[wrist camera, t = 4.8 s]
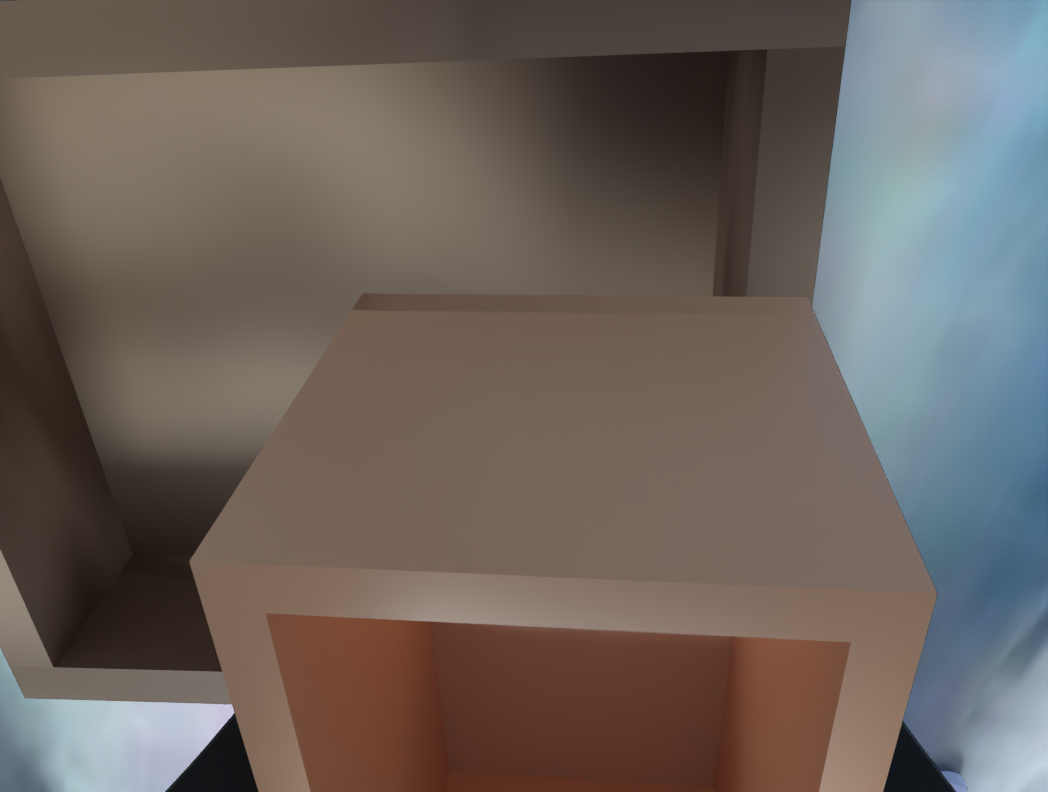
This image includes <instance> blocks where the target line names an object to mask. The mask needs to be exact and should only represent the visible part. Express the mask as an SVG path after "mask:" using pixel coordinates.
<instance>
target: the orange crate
mask: <svg viewBox="0 0 1048 792" xmlns="http://www.w3.org/2000/svg"><path fill="white" fill-rule="evenodd" d="M189 562H190V566H191V569H192V572H193V576H194V579H195V582H196V586H197V589H198V592H199V596H200V599H201V602H202V606H203V609H204V612H205V616H206V619H207V622H208V626H209V629H210V632H211V636H212V639H213V642H214V646H215V649H216V652H217V656H218V659H219V662H220V665H221V669H222V672H223V675H224V679H225V682H226V685H227V689H228V692H229V695H230V699H231V702H232V705H233V709H234V712H235V715H236V719H237V722H238V725H239V729H240V732H241V735H242V739H243V742H244V745H245V749H246V752H247V755H248V759H249V762H250V765H251V768H252V772H253V775H254V778H255V782H256V785H257V788H258V792H883V791H884V787H885V783H886V780H887V776H888V772H889V769H890V765H891V761H892V758H893V754H894V750H895V747H896V743H897V739H898V736H899V732H900V729H901V725H902V721H903V718H904V714H905V710H906V707H907V703H908V699H909V696H910V692H911V688H912V685H913V681H914V678H915V674H916V670H917V667H918V663H919V659H920V656H921V652H922V648H923V645H924V641H925V637H926V634H927V630H928V627H929V623H930V619H931V616H932V612H933V608H934V605H935V601H936V597H937V591H936V589H935V587H934V585H933V582H932V580H931V578H930V575H929V573H928V571H927V569H926V566H925V564H924V562H923V559H922V557H921V555H920V553H919V550H918V548H917V546H916V543H915V541H914V539H913V537H912V534H911V532H910V530H909V527H908V525H907V523H906V521H905V518H904V516H903V514H902V511H901V509H900V507H899V505H898V502H897V500H896V498H895V495H894V493H893V491H892V489H891V486H890V484H889V482H888V479H887V477H886V475H885V473H884V470H883V468H882V466H881V464H880V461H879V459H878V457H877V454H876V452H875V450H874V448H873V445H872V443H871V441H870V438H869V436H868V434H867V432H866V429H865V427H864V425H863V422H862V420H861V418H860V416H859V413H858V411H857V409H856V406H855V404H854V402H853V400H852V397H851V395H850V393H849V390H848V388H847V386H846V384H845V381H844V379H843V377H842V374H841V372H840V370H839V368H838V365H837V363H836V361H835V359H834V356H833V354H832V352H831V349H830V347H829V345H828V343H827V340H826V338H825V336H824V333H823V331H822V329H821V327H820V324H819V322H818V320H817V317H816V315H815V313H814V311H813V308H812V306H811V304H810V301H809V299H808V297H717V296H600V295H483V294H366V293H363V294H362V295H361V297H360V298H359V300H358V301H357V303H356V304H355V306H354V308H353V309H352V311H351V312H350V314H349V315H348V317H347V318H346V320H345V321H344V323H343V325H342V326H341V328H340V329H339V331H338V332H337V334H336V335H335V337H334V338H333V340H332V342H331V343H330V345H329V346H328V348H327V349H326V351H325V352H324V354H323V355H322V357H321V359H320V360H319V362H318V363H317V365H316V366H315V368H314V369H313V371H312V372H311V374H310V376H309V377H308V379H307V380H306V382H305V383H304V385H303V386H302V388H301V389H300V391H299V393H298V394H297V396H296V397H295V399H294V400H293V402H292V403H291V405H290V406H289V408H288V410H287V411H286V413H285V414H284V416H283V417H282V419H281V420H280V422H279V423H278V425H277V427H276V428H275V430H274V431H273V433H272V434H271V436H270V437H269V439H268V440H267V442H266V444H265V445H264V447H263V448H262V450H261V451H260V453H259V454H258V456H257V457H256V459H255V460H254V462H253V464H252V465H251V467H250V468H249V470H248V471H247V473H246V474H245V476H244V477H243V479H242V481H241V482H240V484H239V485H238V487H237V488H236V490H235V491H234V493H233V494H232V496H231V498H230V499H229V501H228V502H227V504H226V505H225V507H224V508H223V510H222V511H221V513H220V515H219V516H218V518H217V519H216V521H215V522H214V524H213V525H212V527H211V528H210V530H209V532H208V533H207V535H206V536H205V538H204V539H203V541H202V542H201V544H200V545H199V547H198V549H197V550H196V552H195V553H194V555H193V556H192V558H191V559H190V561H189Z"/></svg>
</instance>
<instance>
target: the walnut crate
mask: <svg viewBox="0 0 1048 792" xmlns="http://www.w3.org/2000/svg"><path fill="white" fill-rule="evenodd" d="M850 7H851V0H0V648H1V650H2V652H3V654H4V656H5V658H6V660H7V662H8V664H9V666H10V668H11V670H12V672H13V674H14V677H15V679H16V681H17V683H18V685H19V687H20V689H21V691H22V693H23V695H24V697H25V698H38V699H72V700H106V701H139V702H173V703H207V704H232V702H231V699H230V695H229V692H228V689H227V685H226V682H225V679H224V675H223V672H222V669H221V665H220V662H219V659H218V656H217V652H216V649H215V646H214V642H213V639H212V636H211V632H210V629H209V626H208V622H207V619H206V616H205V612H204V609H203V606H202V602H201V599H200V596H199V592H198V589H197V586H196V582H195V579H194V576H193V572H192V569H191V566H190V562H189V561H190V559H191V558H192V556H193V555H194V553H195V552H196V550H197V549H198V547H199V545H200V544H201V542H202V541H203V539H204V538H205V536H206V535H207V533H208V532H209V530H210V528H211V527H212V525H213V524H214V522H215V521H216V519H217V518H218V516H219V515H220V513H221V511H222V510H223V508H224V507H225V505H226V504H227V502H228V501H229V499H230V498H231V496H232V494H233V493H234V491H235V490H236V488H237V487H238V485H239V484H240V482H241V481H242V479H243V477H244V476H245V474H246V473H247V471H248V470H249V468H250V467H251V465H252V464H253V462H254V460H255V459H256V457H257V456H258V454H259V453H260V451H261V450H262V448H263V447H264V445H265V444H266V442H267V440H268V439H269V437H270V436H271V434H272V433H273V431H274V430H275V428H276V427H277V425H278V423H279V422H280V420H281V419H282V417H283V416H284V414H285V413H286V411H287V410H288V408H289V406H290V405H291V403H292V402H293V400H294V399H295V397H296V396H297V394H298V393H299V391H300V389H301V388H302V386H303V385H304V383H305V382H306V380H307V379H308V377H309V376H310V374H311V372H312V371H313V369H314V368H315V366H316V365H317V363H318V362H319V360H320V359H321V357H322V355H323V354H324V352H325V351H326V349H327V348H328V346H329V345H330V343H331V342H332V340H333V338H334V337H335V335H336V334H337V332H338V331H339V329H340V328H341V326H342V325H343V323H344V321H345V320H346V318H347V317H348V315H349V314H350V312H351V311H352V309H353V308H354V306H355V304H356V303H357V301H358V300H359V298H360V297H361V295H362V294H363V293H366V294H483V295H600V296H717V297H808V299H809V301H810V304H811V306H812V302H813V295H814V287H815V279H816V271H817V264H818V256H819V248H820V240H821V232H822V225H823V217H824V209H825V201H826V194H827V186H828V178H829V170H830V162H831V155H832V147H833V139H834V131H835V124H836V116H837V108H838V100H839V92H840V85H841V77H842V69H843V61H844V54H845V46H846V38H847V30H848V23H849V15H850Z"/></svg>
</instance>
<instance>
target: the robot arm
mask: <svg viewBox="0 0 1048 792" xmlns="http://www.w3.org/2000/svg"><path fill="white" fill-rule="evenodd" d="M165 792H258V788H257V785H256V782H255V778H254V775H253V772H252V768H251V765H250V762H249V759H248V755H247V752H246V749H245V745H244V742H243V739H242V735H241V732H240V729H239V725H238V722H237V719H236V715H235V713H234V714H233V716H232V717H231V718H230V719H229V720H228V721H227V723H226V724H225V725H224V726H223V727H222V728H221V730H220V731H219V732H218V733H217V734H216V736H215V737H214V738H213V739H212V740H211V741H210V743H209V744H208V745H207V746H206V747H205V748H204V750H203V751H202V752H201V753H200V754H199V755H198V757H197V758H196V759H195V760H194V761H193V762H192V763H191V764H190V766H189V767H188V768H187V769H186V770H185V771H184V772H183V773H182V774H181V775H180V776H179V777H178V779H177V780H176V781H175V782H174V783H173V784H172V785H171V786H170V787H169V788H168V789H167V790H166V791H165ZM883 792H967V786H966V784H965V782H964V779H963V778H962V776H961V775H959V774H957V773H955V772H950V771H940V770H939V769H938V767H937V766H936V765H935V764H934V762H933V761H932V760H931V758H930V757H929V756H928V754H927V753H926V752H925V751H924V749H923V748H922V746H921V745H920V744H919V742H918V741H917V740H916V738H915V737H914V736H913V734H912V733H911V732H910V730H909V729H908V727H907V726H906V725H905V723H904V722H903V721H902V725H901V729H900V732H899V736H898V739H897V743H896V747H895V750H894V754H893V758H892V761H891V765H890V769H889V772H888V776H887V780H886V783H885V787H884V791H883Z"/></svg>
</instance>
